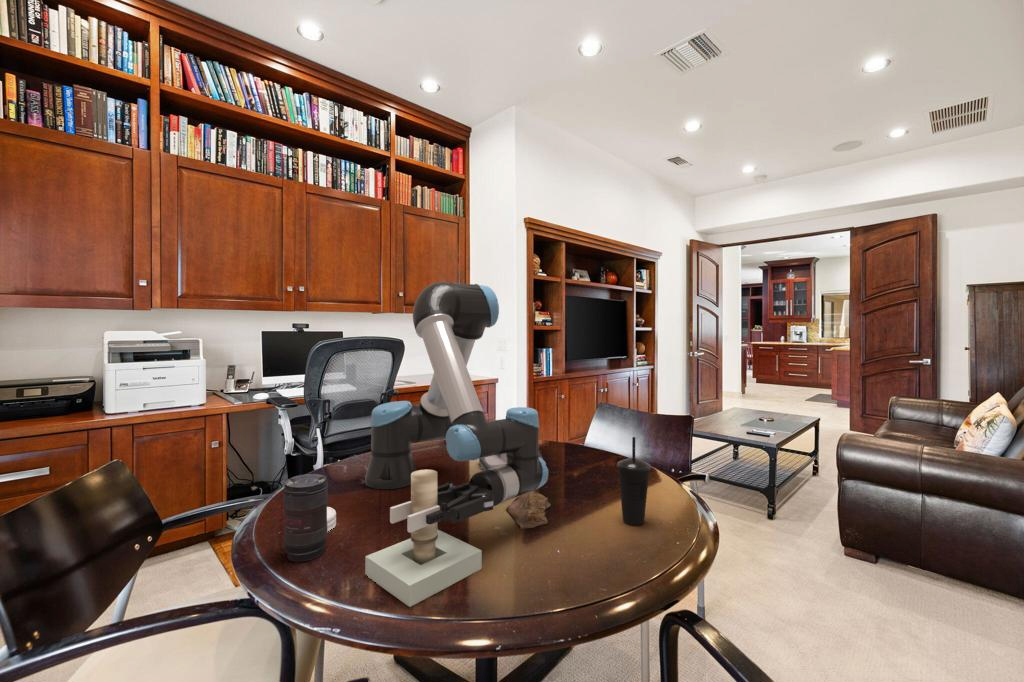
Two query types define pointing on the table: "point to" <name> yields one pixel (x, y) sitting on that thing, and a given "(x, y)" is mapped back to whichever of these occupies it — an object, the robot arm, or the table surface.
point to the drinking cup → (633, 488)
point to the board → (422, 568)
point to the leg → (422, 500)
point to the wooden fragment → (529, 509)
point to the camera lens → (305, 516)
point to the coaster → (331, 518)
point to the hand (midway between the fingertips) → (399, 519)
